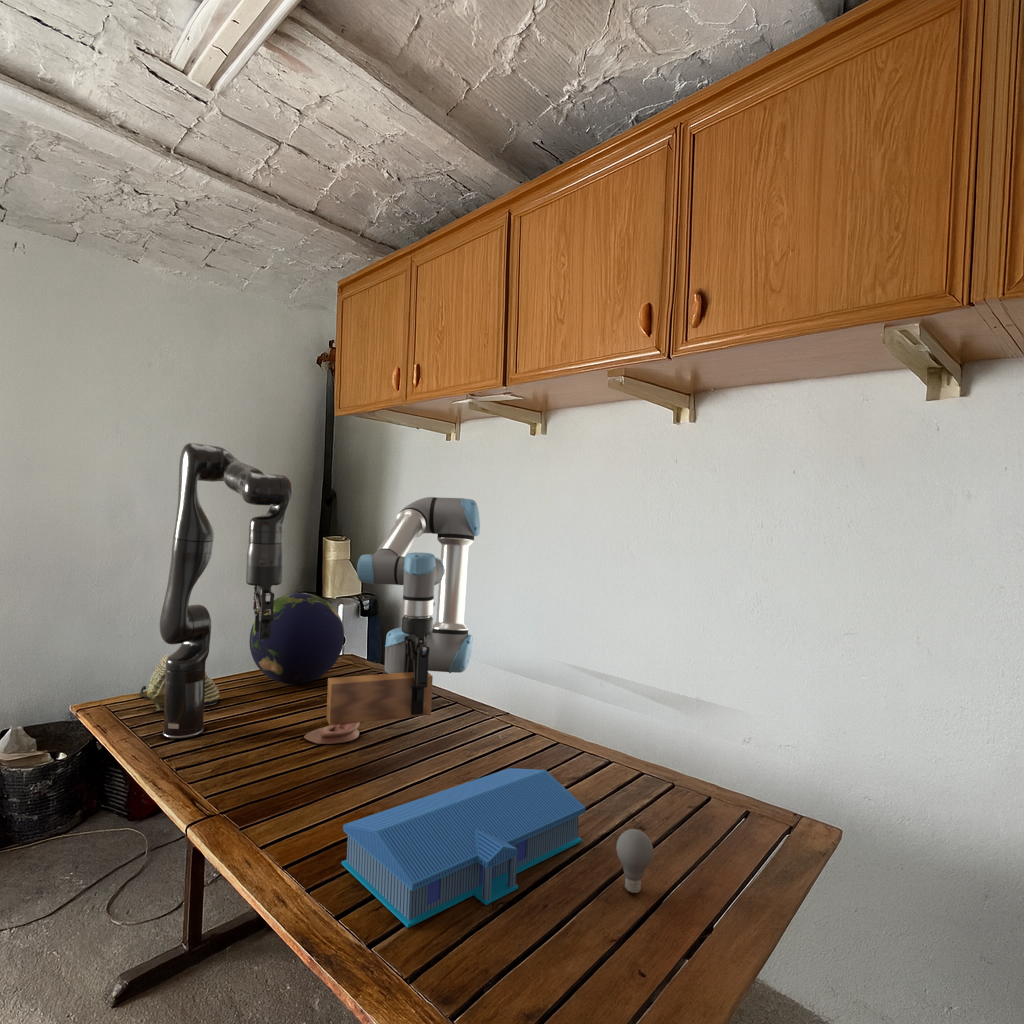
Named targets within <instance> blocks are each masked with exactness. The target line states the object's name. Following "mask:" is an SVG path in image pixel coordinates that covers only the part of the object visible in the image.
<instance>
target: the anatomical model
mask: <svg viewBox="0 0 1024 1024" xmlns="http://www.w3.org/2000/svg"><path fill="white" fill-rule="evenodd" d="M360 724H361V722H359V723H350V724H340V725H329V724H328V725H326V726H323V727H320V728H316V729H313V730H311V731H309V732H307V733H306V734H305V735H304V736H303V738H304V739H305V740H307V741H308V742H311V743H314V744H319V745H331V744H332V745H333V744H341V743H342V744H343V743H346V742H352V741H354V740H356V739H357V738H359V736H360V730H359V729H358V728H359V727H360Z"/></svg>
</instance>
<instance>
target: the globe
mask: <svg viewBox="0 0 1024 1024" xmlns="http://www.w3.org/2000/svg"><path fill="white" fill-rule="evenodd" d="M264 615H269V614H268V613H266V614H264ZM273 616H274V619H273V620H272V622H271V635H270V639H263V640H262V639H260V638H259V632H256V631H255V620H254V621H253V623H252V626H251V628H250V633H249V642H248V643H249V651H250V655H251V658H252V660H253V662H254V663H255V665H256V667H257V668H258V669H259V670H260V672H261V673H263V674H264V675H265V676H266V677H267V678H268V679H271V680H273V681H275V682H278V683H280V684H284V685H290V686H291V685H304V684H307V683H311V682H313V681H316V680H317V679H319V678H321V677H322V676H324V675H325V674H326V673H328V672H329V671H330V670H331V669H332V668H333V667H334V665H336V662H337V661H338V660H339V657H340V656H341V653H342V650H343V647H344V642H345V629H344V625H343V621H342V618H341V616H340V614H339V613H338V612H337V610H336V609H335V607H334V606H333V605H332V604H331V603H329V602H328V601H327V600H325V599H323V598H322V597H320V596H318V595H315V594H311V593H308V592H307V593H306V592H293V593H288V594H284V595H281V596H279V597H276V598H274V612H273Z"/></svg>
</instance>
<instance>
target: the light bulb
mask: <svg viewBox="0 0 1024 1024" xmlns="http://www.w3.org/2000/svg"><path fill="white" fill-rule="evenodd" d="M615 849H616V854H617V857H618V859H619V861H620V863H621V865H622V867H623V873H624V874H623V875H624V876H625V878H624V888H625V890H627V891H628V892H630V893H634V894H635V893H639V892H640V891H641V889H642V887H641V886H642V879H643V877H644V875H645V871H646V868H647V867H648V866H649V864H650V863H651V861H652V859H653V855H654V847H653V843H652V841H651V838H649V836H648V835H647V834H646V833H645V832H643V831H642V830H641V829H636V828H629V829H627V830H625V831H623V832H622V833H621V834H620V835H619V837H618V839H617V841H616V847H615Z"/></svg>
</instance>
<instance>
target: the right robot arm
mask: <svg viewBox="0 0 1024 1024" xmlns="http://www.w3.org/2000/svg"><path fill="white" fill-rule="evenodd" d="M480 521H481V520H480V512H479V506H478V504H477V502H476V501H475V500H474V499H470V498H465V497H464V498H463V497H438V496H437V497H435V496H428V497H422V498H420V499H417V500H414V501H412V502H410V503H409V504H407V505H406V506H405V507H403V508H401V510H400V511H399V513H398V514H397V516H396V518H395V521H394V525H393V527H392V528H391V529H390V530H389V533H388V534H387V535H386V537H385V538H384V540H383V541H382V543H381V544H380V545H379V547H378V548H377V550H376V551H375V552H374V554H372V553H369V554H368V553H367V554H361V556H360V557H359V558H358V560H357V565H356V566H357V567H356V574H357V579H358V580H359V581H360V582H361V583H364V584H372V585H393V586H394V585H395V586H403V590H402V604H401V606H402V607H401V614H402V615H403V616H402V618H401V626H400V627H396V628H393V629H391V630H389V631H388V632H387V633H386V637H385V645H384V673H383V674H392V673H405V672H414V686H411V689H412V709H411V714H412V715H418V714H423V702H424V688H425V687H427V685H428V684H427V683H428V673H429V672H440V673H448V674H452V673H463V672H465V671H466V669H467V668H468V666H469V662H470V658H471V654H472V650H473V640H474V636H473V635H472V634H469V628H468V626H467V625H466V624H465V611H466V594H467V580H468V579H467V578H468V564H469V551H470V550H469V548H470V546H471V545H472V544H473V543H474V542H475V537H479V535H480V533H481V532H480V530H481V522H480ZM424 534H432V535H437V542H439V544H440V545H441V549H440V558H438V557H436V556H435V554H433V553H430V552H409V551H410V549H411V548H412V546H413V544H414V542H416V539H417V538H419V537H421V536H422V535H424ZM436 585H438V590H437V591H438V592H437V603H436V602H435V601H434V600H435V596H434V595H435V586H436ZM436 604H437V605H436ZM434 606H436V619H435V620H436V621H435V622H434V618H433V617H432V616H433V614H434Z"/></svg>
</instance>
